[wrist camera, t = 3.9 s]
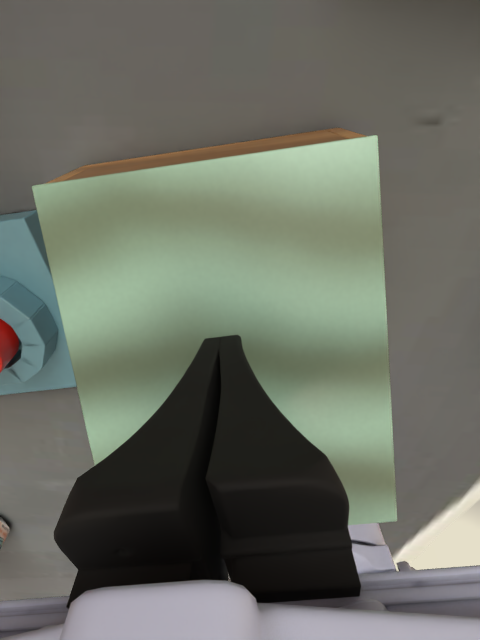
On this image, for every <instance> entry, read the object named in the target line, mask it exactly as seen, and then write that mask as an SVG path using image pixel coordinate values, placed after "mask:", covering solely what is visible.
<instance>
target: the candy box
mask: <svg viewBox="0 0 480 640" xmlns="http://www.w3.org/2000/svg"><path fill="white" fill-rule="evenodd" d="M359 137H365V135H362V134H358V133H355V132H352V131H348V130H345V129H342V128H332V129H326V130H319V131H312V132H306V133H299V134H292V135H286V136H279V137H272V138H266V139H259V140H252V141H246V142H239V143H232V144H226V145H219V146H212V147H206V148H199V149H192V150H186V151H179V152H172V153H165V154H159V155H152V156H145V157H139V158H132V159H125V160H119V161H112V162H105V163H99V164H92V165H85V166H82V167H80V168H78V169H75V170H73V171H71V172H69V173H67V174H65V175H62V176H60V177H58V178H56V179H54V180H52V181H49V182H47V183H54V182H60V181H67V180H74V179H81V178H88V177H94V176H101V175H108V174H115V173H121V172H128V171H135V170H142V169H149V168H155V167H162V166H169V165H176V164H182V163H189V162H196V161H203V160H210V159H216V158H223V157H230V156H237V155H243V154H250V153H257V152H264V151H271V150H277V149H284V148H291V147H298V146H304V145H311V144H318V143H325V142H332V141H338V140H345V139H352V138H359ZM47 183H45V184H47Z"/></svg>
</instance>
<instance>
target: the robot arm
mask: <svg viewBox="0 0 480 640" xmlns="http://www.w3.org/2000/svg"><path fill="white" fill-rule="evenodd" d="M349 508H350V507H349V500H348V496H347V494H346V491H345V489H344V486H343V484H342V482H341V480H340V478H339V476H338V474H337V473H336V471H335V469H334V467H333V466H332V464H331V462H330V461H329V459H328V457H327V456H326V455H325V454H324V453H323V452H322V451H321V450H319V449H318V448H317V447H316V446H315V445H313V444H312V443H311V442H310V441H309V440H308V439H307V438H306V437H304V436H303V435H302V434H301V433H300V432H299V431H298V430H297V429H296V428H295V427H294V426H293V425H292V424H291V422H290V421H289V420H288V419H287V418H286V417H285V416H284V415H283V414H282V413H281V412H280V410H279V409H278V408H277V407H276V405H275V404H274V403H273V402H272V400H271V399H270V398H269V396H268V395H267V393H266V392H265V391H264V389H263V387H262V386H261V384H260V383H259V381H258V379H257V378H256V376H255V374H254V372H253V371H252V369H251V367H250V365H249V363H248V360H247V358H246V356H245V353H244V350H243V347H242V341H241V337H240V336H239V335H231V336H222V337H214V338H205V339H204V341H203V342H202V344H201V346H200V348H199V350H198V352H197V354H196V355H195V357H194V359H193V361H192V362H191V364H190V366H189V367H188V369H187V370H186V372H185V374H184V375H183V377H182V378H181V380H180V381H179V383H178V384H177V385H176V387H175V388H174V390H173V391H172V392H171V394H170V395H169V396H168V398H167V399H166V400H165V401H164V403H163V404H162V405H161V406H160V407H159V409H158V410H157V411H156V412H155V413H154V414H153V415H152V416H151V417H150V419H149V420H148V421H147V422H146V423H145V424H144V425H143V426H142V427H141V428H140V429H139V430H138V431H137V432H136V433H135V434H133V435H132V436H131V437H130V438H129V439H128V440H127V441H126V442H124V443H123V444H122V445H121V446H120V447H118V448H117V449H116V450H115V451H114V452H112V453H111V454H110V455H109V456H107V457H106V458H105V459H103V460H102V461H101V462H99V463H98V464H97V465H95V466H94V467H92V468H91V469H90V470H88V471H87V472H86V473H84V474H83V475H81V476H80V477H78V478H77V480H76V482H75V484H74V486H73V488H72V490H71V492H70V494H69V496H68V499H67V501H66V503H65V506H64V508H63V511H62V513H61V516H60V518H59V521H58V523H57V526H56V528H55V530H54V539H55V541H56V543H57V545H58V546H59V548H60V549H61V551H62V552H63V553H64V554H65V555H66V556H67V557H68V558H69V560H70V561H71V562H72V563H73V564H74V565H75V566H76V567H77V569H78V573H77V576H76V579H75V582H74V585H73V588H72V591H71V594H70V596H61V597H48V598H34V599H21V600H8V601H0V640H480V565H479V566H465V567H451V568H438V569H424V570H415V569H414V568H413V567H410V565H409V564H408V563H407V562H405V561H403V562H399V563H397V566H398V570H399V571H398V572H397V571H396V568H395V565H394V562H393V559H392V556H391V553H390V551H389V548H388V545H386V544H385V541H384V539H383V536H382V533H381V530H380V527H379V524H378V523H370V524H358V525H348V520H349ZM228 573H229V576H230V579H231V582H229V581H228Z"/></svg>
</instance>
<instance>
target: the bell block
mask: <svg viewBox="0 0 480 640" xmlns="http://www.w3.org/2000/svg"><path fill="white" fill-rule="evenodd" d="M0 319H2V320H3V321H5V322H6V323H7V324H9V325H10V326H11V327H12V328H13V329H14V331H15V333H16V334H17V336H18V339H19V350H18V352H17V354H16V355H15V356H14V358H13V359H12V360H11V361H10V362H9V363H8V365H7V366H6V367H5V368H4V369H3V371H2V372H1V373H0V395H6V394H15V393H24V392H33V391H43V390H52V389H61V388H70V387H77V386H76V381H75V377H74V372H73V368H72V363H71V359H70V355H69V350H68V346H67V341H66V337H65V332H64V328H63V324H62V319H61V315H60V310H59V306H58V302H57V297H56V293H55V288H54V284H53V279H52V275H51V271H50V266H49V262H48V257H47V253H46V248H45V244H44V240H43V235H42V231H41V226H40V222H39V218H38V213H37V210H33V211H26V212H19V213H12V214H5V215H0Z"/></svg>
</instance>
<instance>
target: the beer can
mask: <svg viewBox="0 0 480 640" xmlns="http://www.w3.org/2000/svg"><path fill="white" fill-rule="evenodd" d="M9 532H10V529H9V526H8V525H7V524H6V522H5V521H4V520H3V519H2V518H1V517H0V549H1V547H2V545H3V543H4V541H5V539H6V537H7V535H8V534H9Z"/></svg>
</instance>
